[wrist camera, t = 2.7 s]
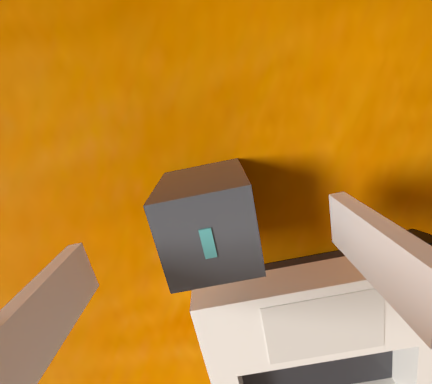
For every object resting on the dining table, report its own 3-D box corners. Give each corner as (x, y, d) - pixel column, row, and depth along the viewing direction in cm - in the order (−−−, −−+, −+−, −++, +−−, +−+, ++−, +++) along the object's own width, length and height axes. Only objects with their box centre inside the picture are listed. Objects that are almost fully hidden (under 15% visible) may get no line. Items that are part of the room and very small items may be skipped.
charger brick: (164, 172, 18) (142, 206, 12) (237, 158, 17) (251, 185, 12) (182, 237, 19) (170, 294, 13) (249, 224, 19) (266, 277, 13)
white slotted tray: (193, 277, 20) (189, 312, 17) (415, 236, 19) (458, 264, 16) (230, 412, 25) (233, 460, 22) (407, 384, 25) (438, 429, 21)
